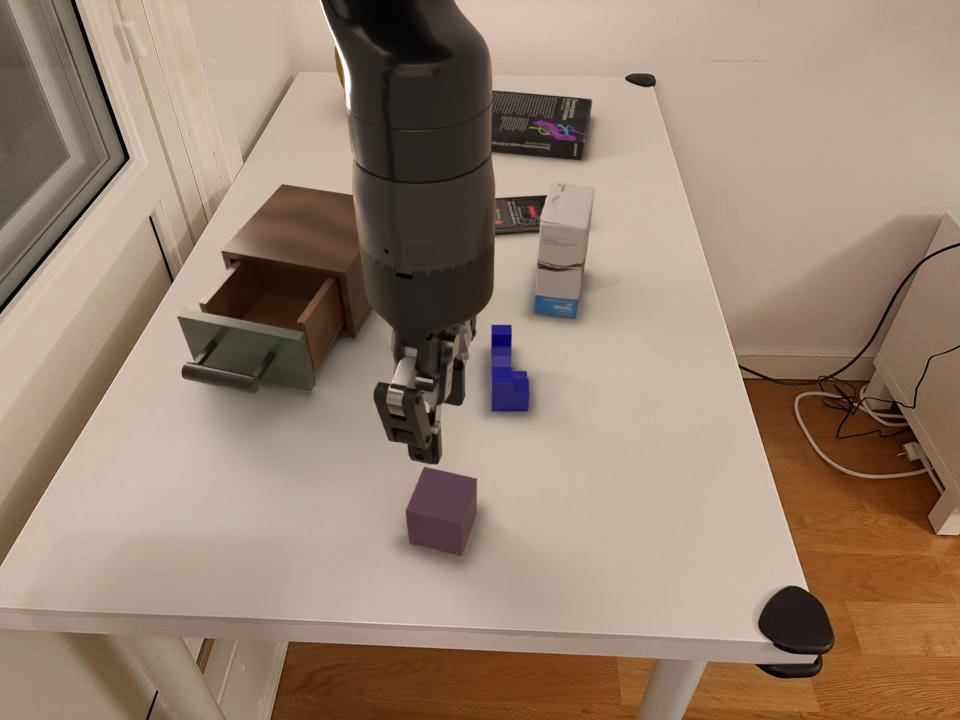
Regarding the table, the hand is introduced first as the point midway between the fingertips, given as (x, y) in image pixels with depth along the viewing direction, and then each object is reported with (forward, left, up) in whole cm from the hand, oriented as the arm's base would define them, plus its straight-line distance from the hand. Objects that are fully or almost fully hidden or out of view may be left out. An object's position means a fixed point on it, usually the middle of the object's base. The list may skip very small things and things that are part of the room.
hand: (437, 428), depth 51 cm
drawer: (0, +27, -11) cm, 29 cm away
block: (0, 0, -12) cm, 12 cm away
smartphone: (+38, +28, -12) cm, 49 cm away
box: (+55, +44, -13) cm, 72 cm away
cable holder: (+16, +8, -13) cm, 22 cm away
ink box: (+30, +14, -13) cm, 35 cm away
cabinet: (+11, +33, -12) cm, 37 cm away
